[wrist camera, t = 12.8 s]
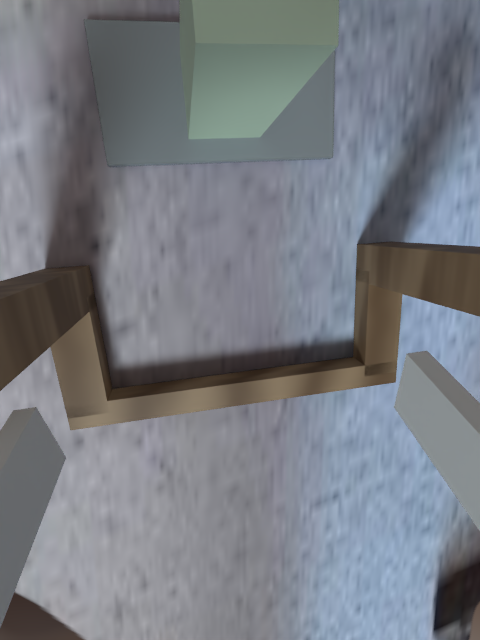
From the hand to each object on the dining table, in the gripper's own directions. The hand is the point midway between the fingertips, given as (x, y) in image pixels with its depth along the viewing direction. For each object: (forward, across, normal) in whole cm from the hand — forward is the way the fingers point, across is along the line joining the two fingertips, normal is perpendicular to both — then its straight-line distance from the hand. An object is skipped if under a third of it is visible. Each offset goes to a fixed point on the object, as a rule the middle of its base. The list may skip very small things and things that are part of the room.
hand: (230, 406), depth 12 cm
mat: (+18, -2, -10) cm, 21 cm away
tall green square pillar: (+18, -2, -10) cm, 21 cm away
